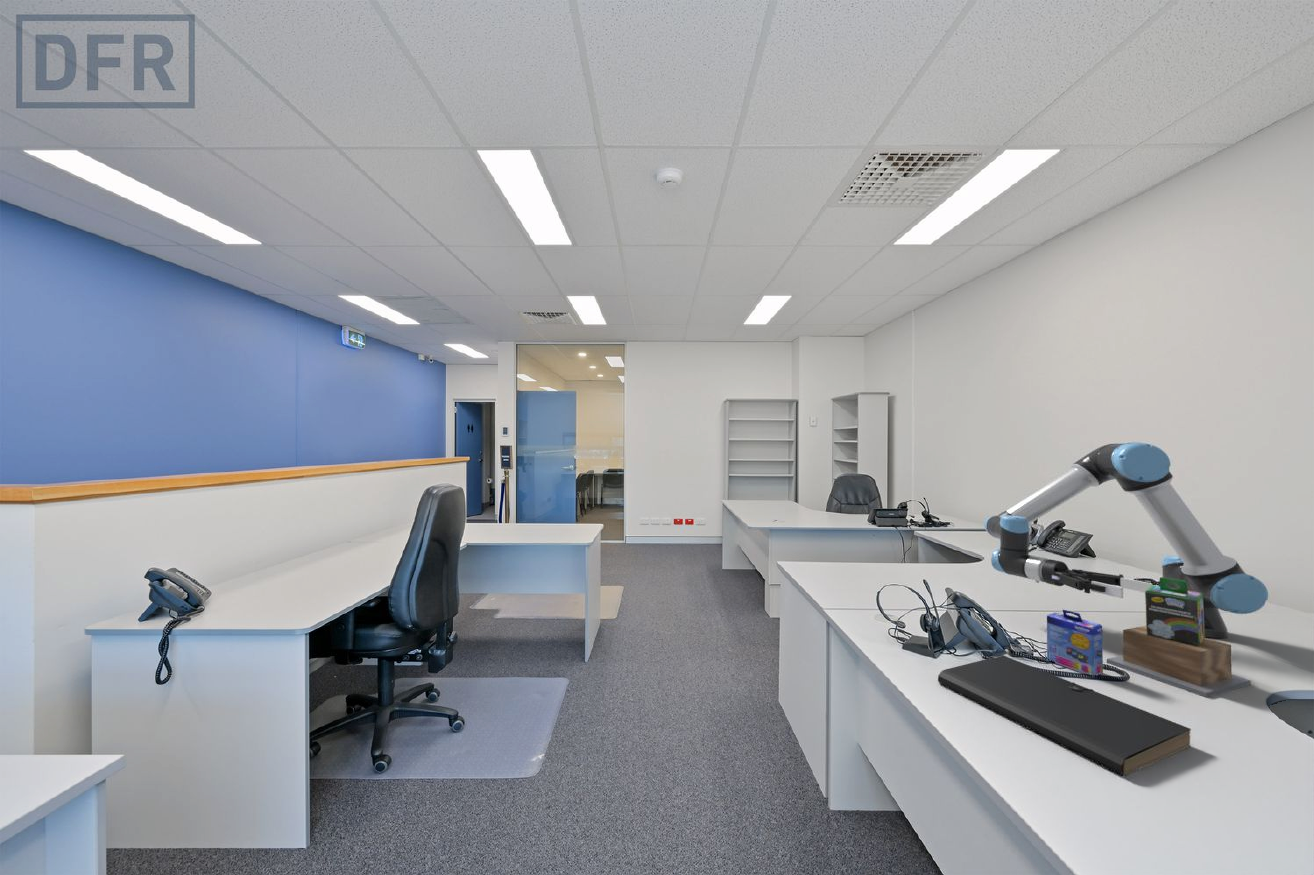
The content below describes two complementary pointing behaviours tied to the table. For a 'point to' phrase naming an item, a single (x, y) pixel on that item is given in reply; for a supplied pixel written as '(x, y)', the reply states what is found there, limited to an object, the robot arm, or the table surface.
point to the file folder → (1069, 713)
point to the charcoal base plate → (1203, 690)
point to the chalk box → (1175, 612)
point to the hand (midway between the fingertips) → (1137, 590)
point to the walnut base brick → (1178, 657)
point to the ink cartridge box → (1075, 643)
